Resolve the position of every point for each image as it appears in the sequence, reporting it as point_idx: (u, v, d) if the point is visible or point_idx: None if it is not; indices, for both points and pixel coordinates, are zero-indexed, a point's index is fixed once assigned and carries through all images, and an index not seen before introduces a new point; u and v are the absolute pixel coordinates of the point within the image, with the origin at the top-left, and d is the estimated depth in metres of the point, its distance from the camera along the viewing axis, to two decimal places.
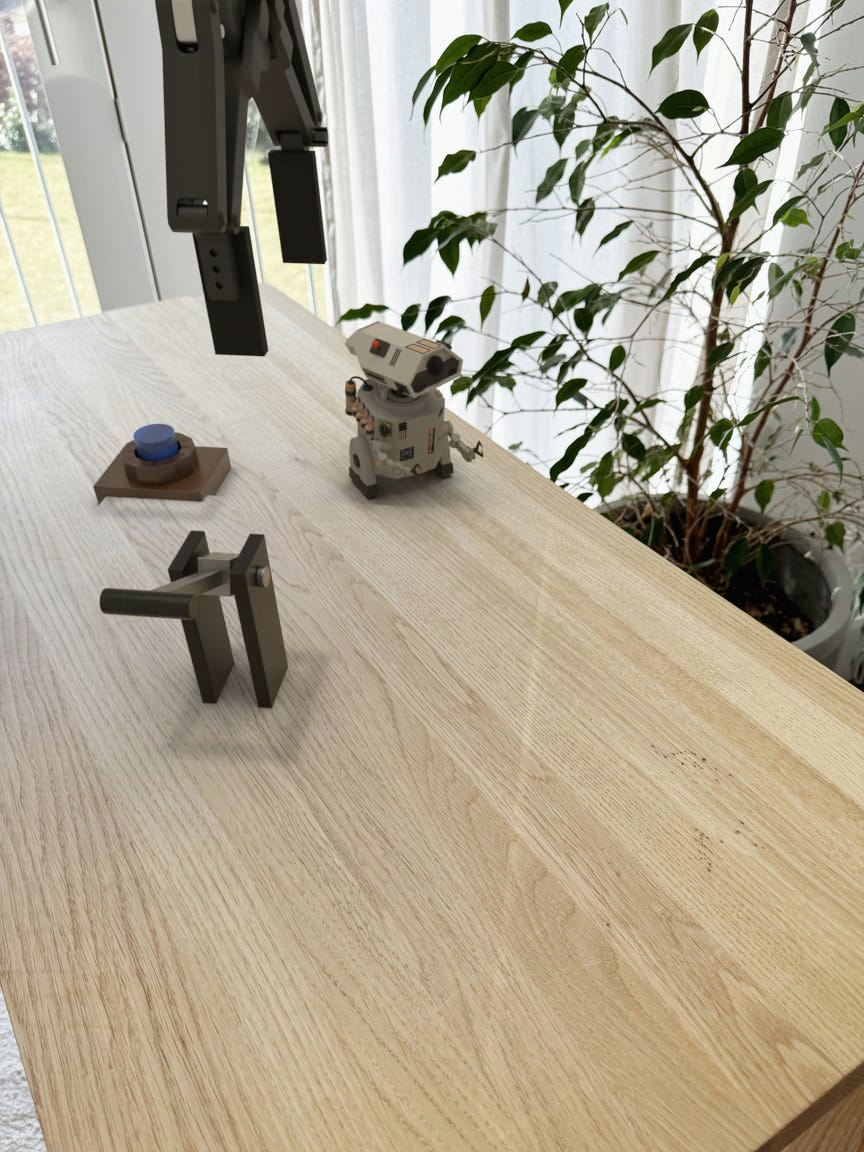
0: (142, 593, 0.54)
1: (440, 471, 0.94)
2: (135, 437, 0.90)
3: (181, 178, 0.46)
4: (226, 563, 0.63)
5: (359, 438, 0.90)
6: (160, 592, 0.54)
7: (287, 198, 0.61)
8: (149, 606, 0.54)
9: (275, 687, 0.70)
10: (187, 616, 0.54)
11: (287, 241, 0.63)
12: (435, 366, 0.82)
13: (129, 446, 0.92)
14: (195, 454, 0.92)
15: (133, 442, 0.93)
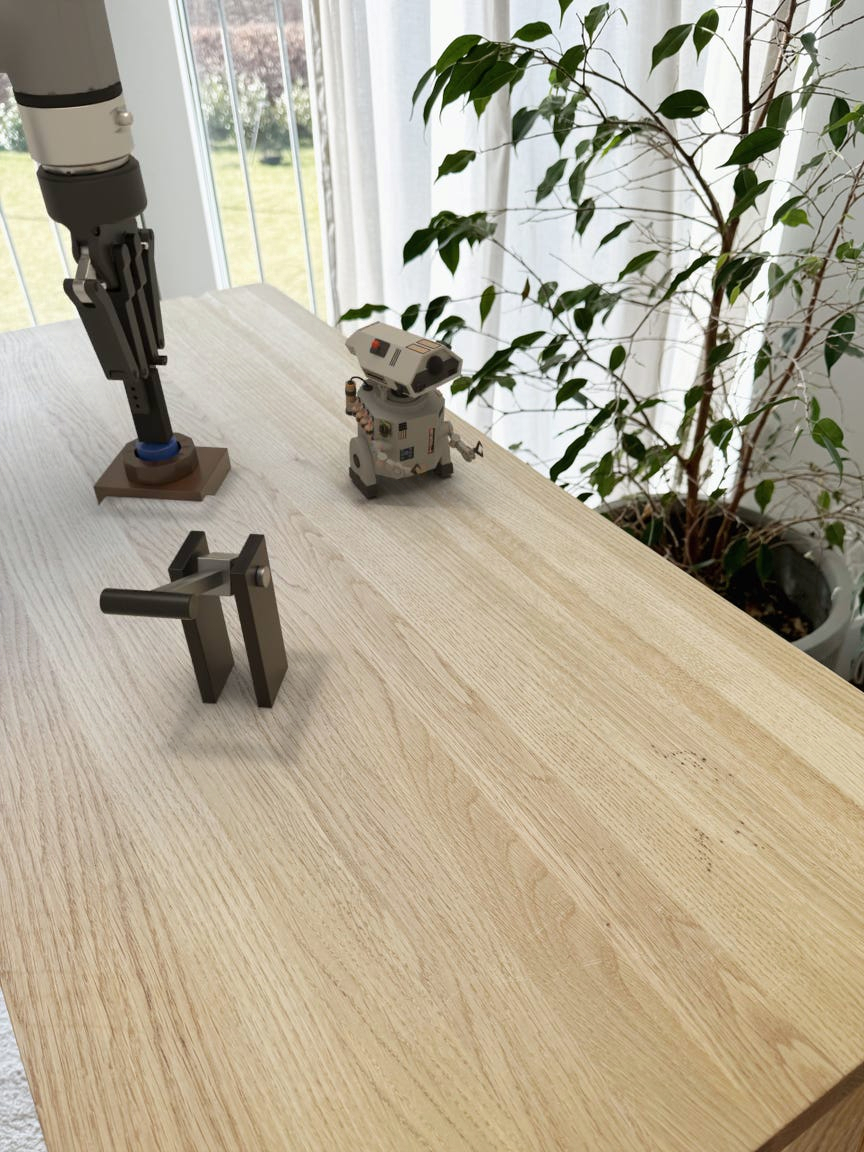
0: (142, 593, 0.54)
1: (440, 471, 0.94)
2: (137, 445, 0.90)
3: (107, 361, 0.82)
4: (226, 563, 0.63)
5: (359, 438, 0.90)
6: (160, 592, 0.54)
7: None
8: (149, 606, 0.54)
9: (275, 687, 0.70)
10: (187, 616, 0.54)
11: None
12: (435, 366, 0.82)
13: (129, 446, 0.92)
14: (195, 454, 0.92)
15: (133, 442, 0.93)
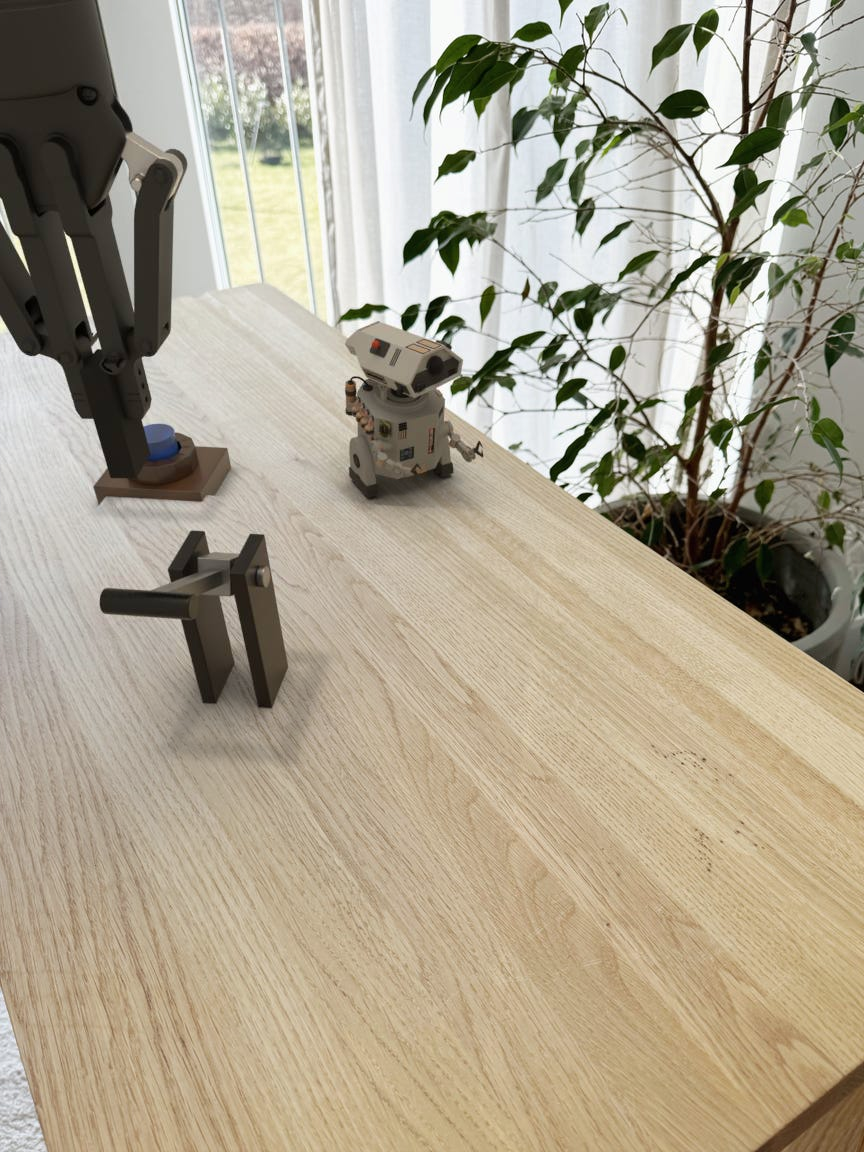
0: (142, 593, 0.54)
1: (440, 471, 0.94)
2: None
3: None
4: (226, 563, 0.63)
5: (359, 438, 0.90)
6: (160, 592, 0.54)
7: None
8: (149, 606, 0.54)
9: (275, 687, 0.70)
10: (187, 616, 0.54)
11: None
12: (435, 366, 0.82)
13: None
14: (195, 454, 0.92)
15: None
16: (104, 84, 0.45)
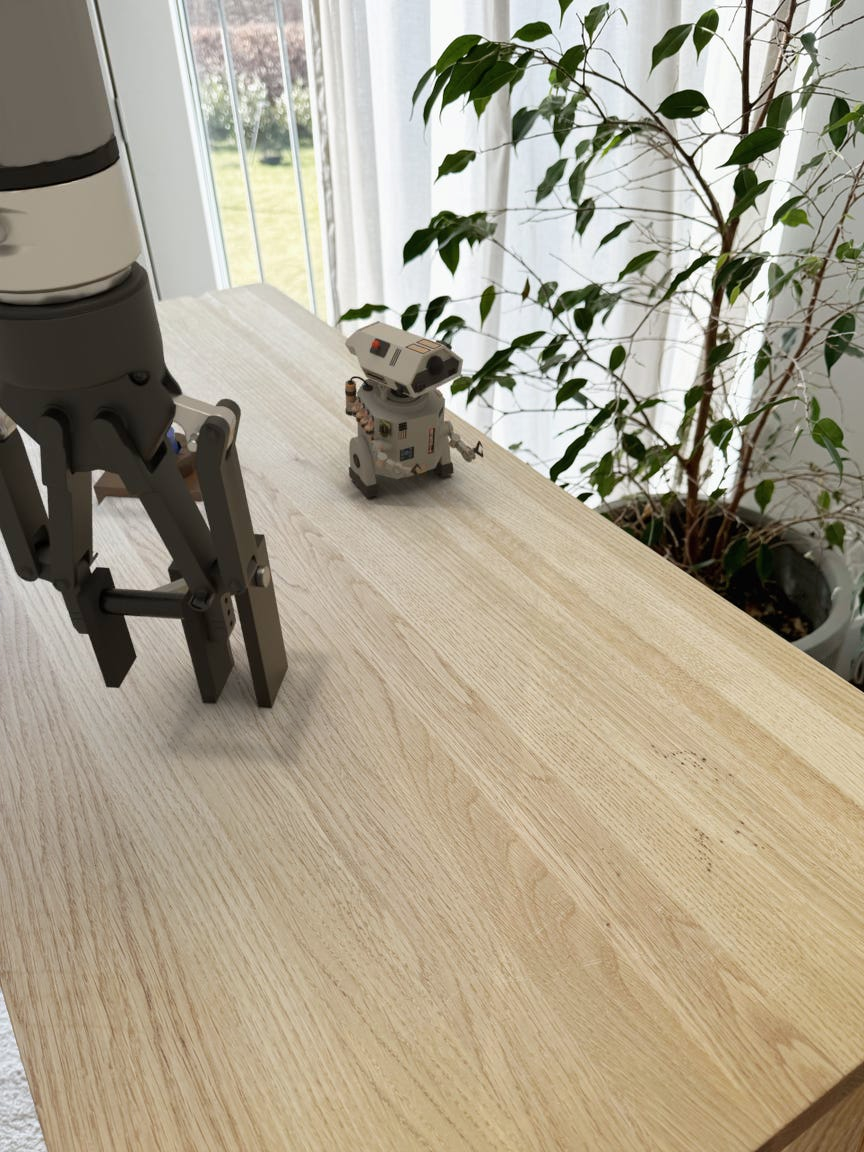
0: (142, 593, 0.54)
1: (440, 471, 0.94)
2: None
3: None
4: None
5: (359, 438, 0.90)
6: (160, 592, 0.54)
7: None
8: (149, 606, 0.54)
9: (275, 687, 0.70)
10: None
11: None
12: (435, 366, 0.82)
13: None
14: (195, 454, 0.92)
15: None
16: (155, 364, 0.45)
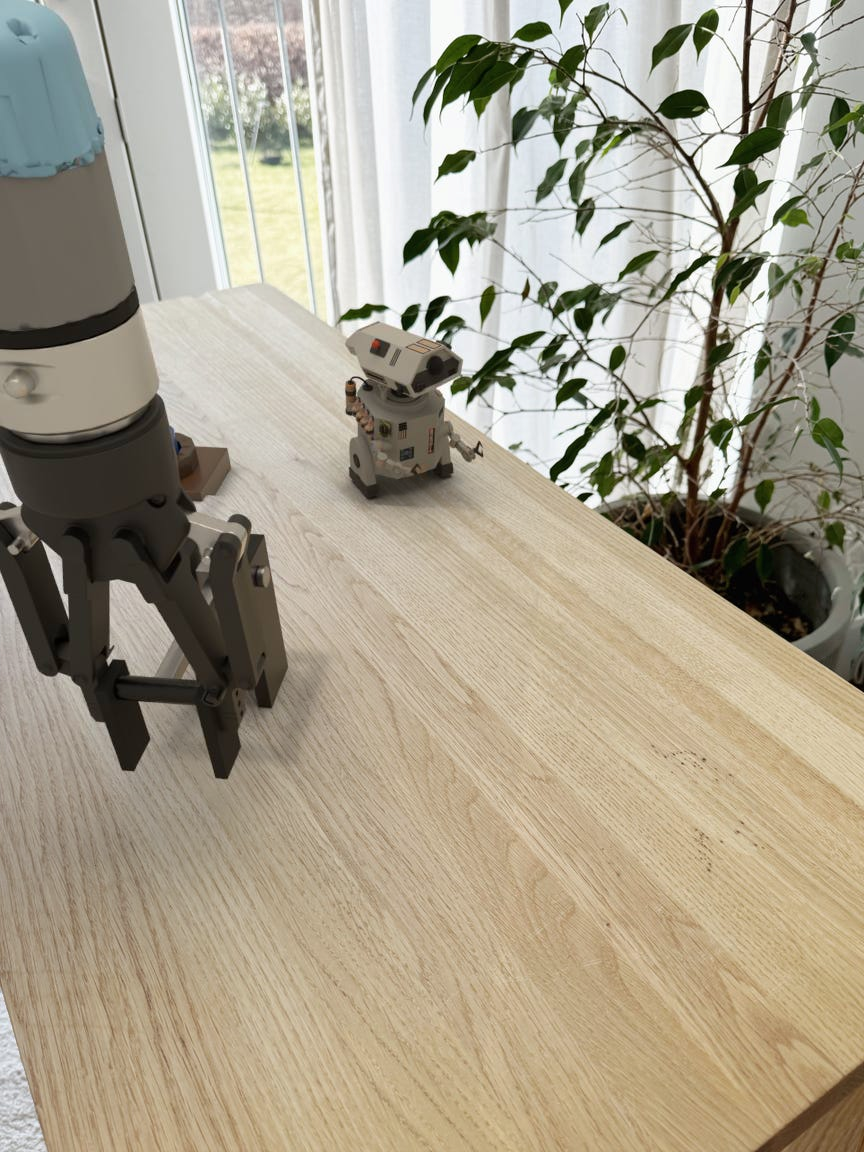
0: (153, 686, 0.56)
1: (440, 471, 0.94)
2: None
3: None
4: None
5: (359, 438, 0.90)
6: (170, 684, 0.56)
7: None
8: (163, 699, 0.56)
9: (275, 687, 0.70)
10: None
11: None
12: (435, 366, 0.82)
13: None
14: (195, 454, 0.92)
15: None
16: (171, 487, 0.47)
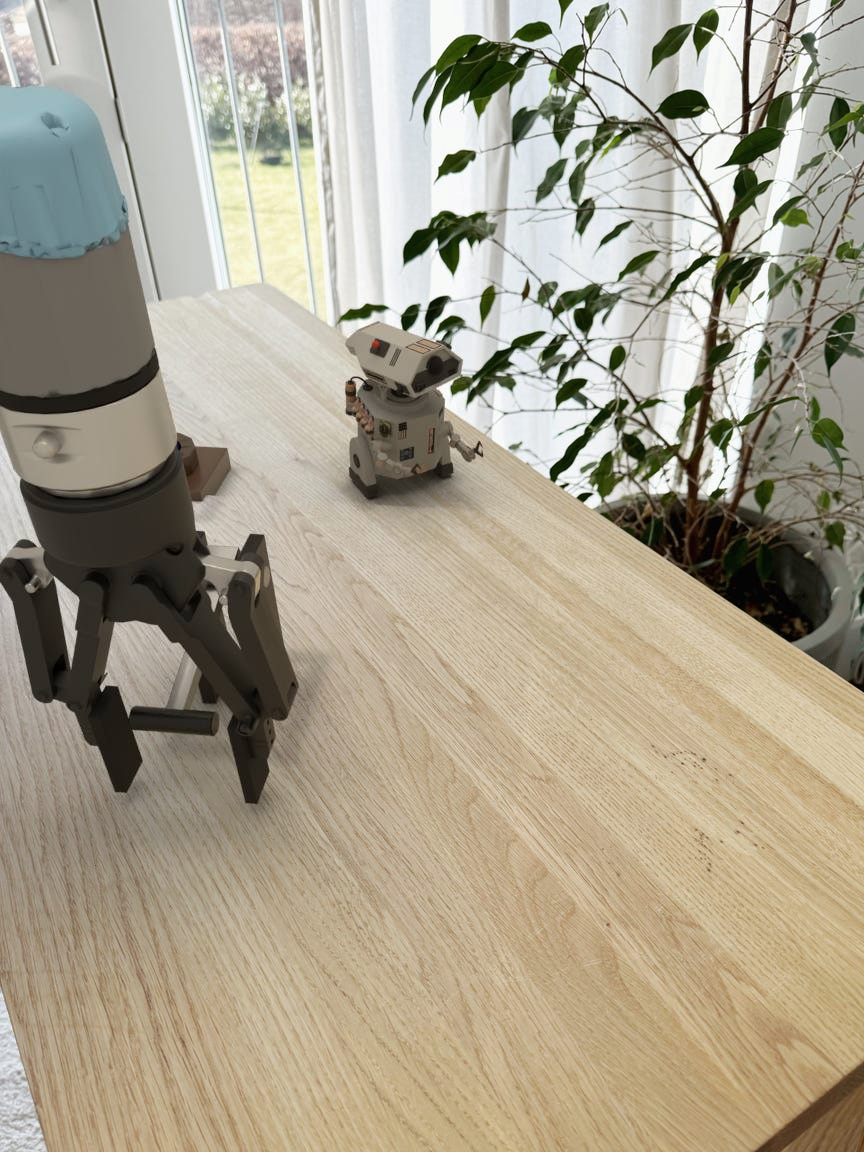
0: (166, 720, 0.58)
1: (440, 471, 0.94)
2: None
3: None
4: None
5: (359, 438, 0.90)
6: (182, 718, 0.58)
7: None
8: (176, 732, 0.59)
9: None
10: None
11: None
12: (435, 366, 0.82)
13: None
14: (195, 454, 0.92)
15: None
16: (188, 535, 0.50)
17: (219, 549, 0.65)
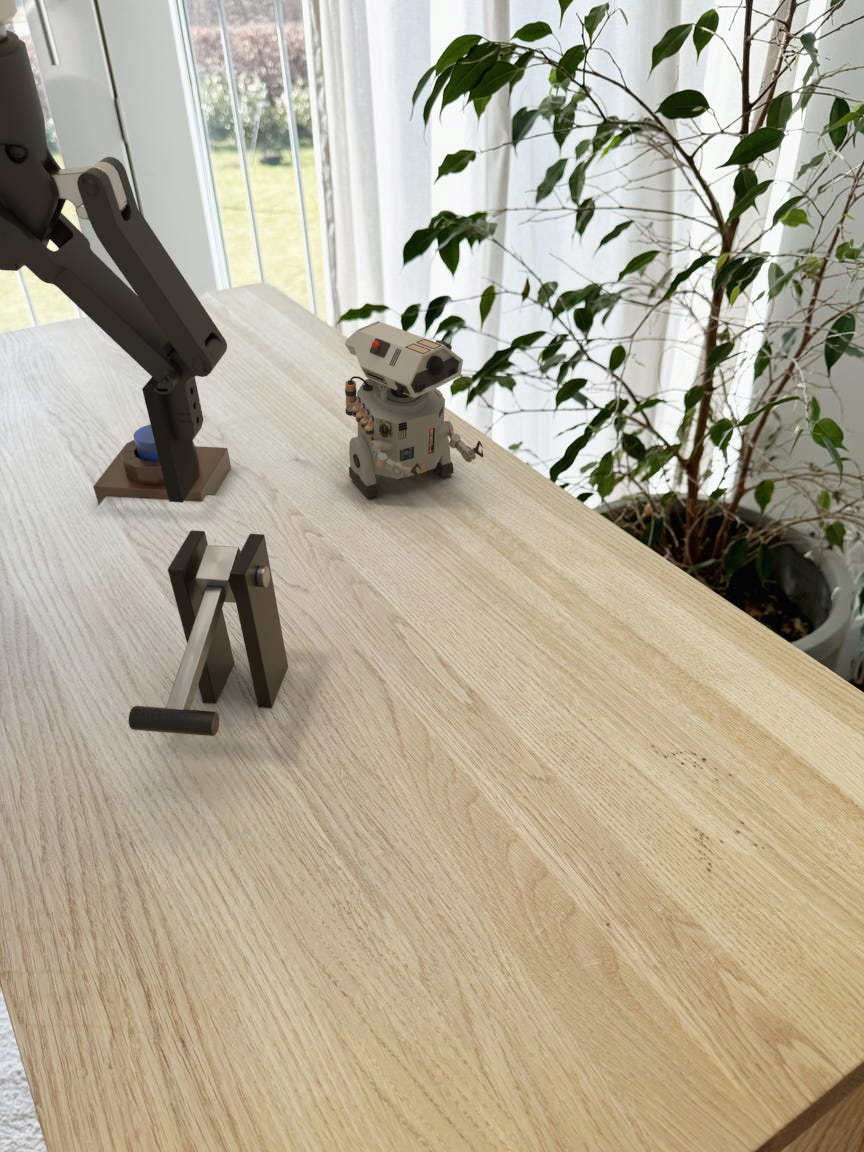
0: (166, 720, 0.58)
1: (440, 471, 0.94)
2: (135, 437, 0.90)
3: None
4: (225, 583, 0.64)
5: (359, 438, 0.90)
6: (182, 718, 0.58)
7: None
8: (176, 732, 0.59)
9: (275, 687, 0.70)
10: None
11: None
12: (435, 366, 0.82)
13: (129, 446, 0.92)
14: (195, 454, 0.92)
15: (133, 442, 0.93)
16: (34, 141, 0.43)
17: (219, 549, 0.65)
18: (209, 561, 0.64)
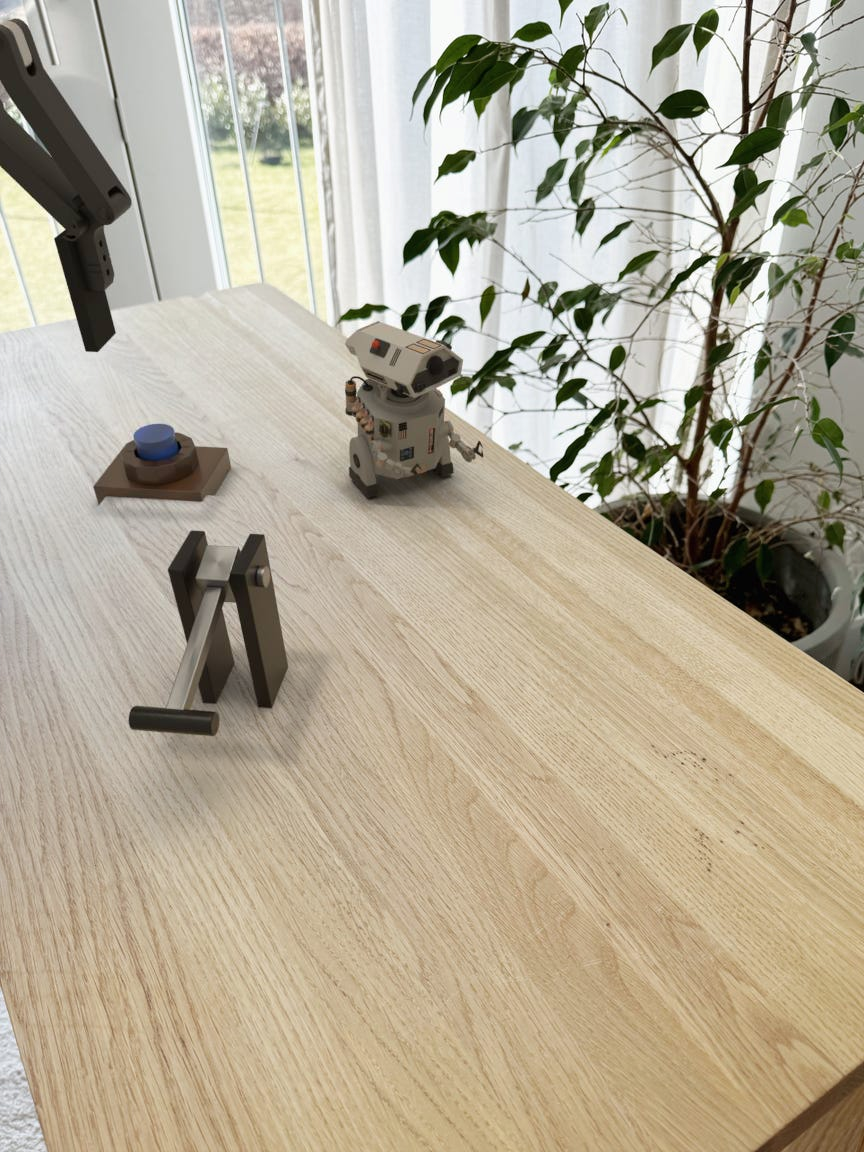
0: (166, 720, 0.58)
1: (440, 471, 0.94)
2: (135, 437, 0.90)
3: None
4: (225, 583, 0.64)
5: (359, 438, 0.90)
6: (182, 718, 0.58)
7: None
8: (176, 732, 0.59)
9: (275, 687, 0.70)
10: None
11: None
12: (435, 366, 0.82)
13: (129, 446, 0.92)
14: (195, 454, 0.92)
15: (133, 442, 0.93)
16: None
17: (219, 549, 0.65)
18: (209, 561, 0.64)
